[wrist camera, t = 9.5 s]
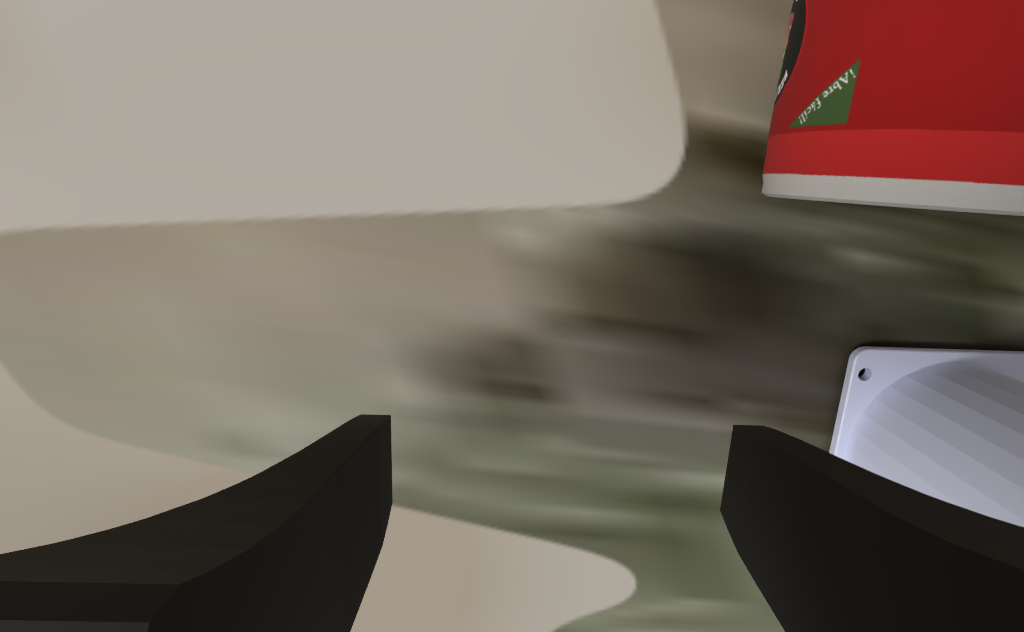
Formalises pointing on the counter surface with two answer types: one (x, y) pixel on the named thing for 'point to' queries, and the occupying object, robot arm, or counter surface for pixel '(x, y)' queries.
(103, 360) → the counter surface
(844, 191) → the canned food
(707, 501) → the counter surface
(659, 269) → the counter surface
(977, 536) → the robot arm
